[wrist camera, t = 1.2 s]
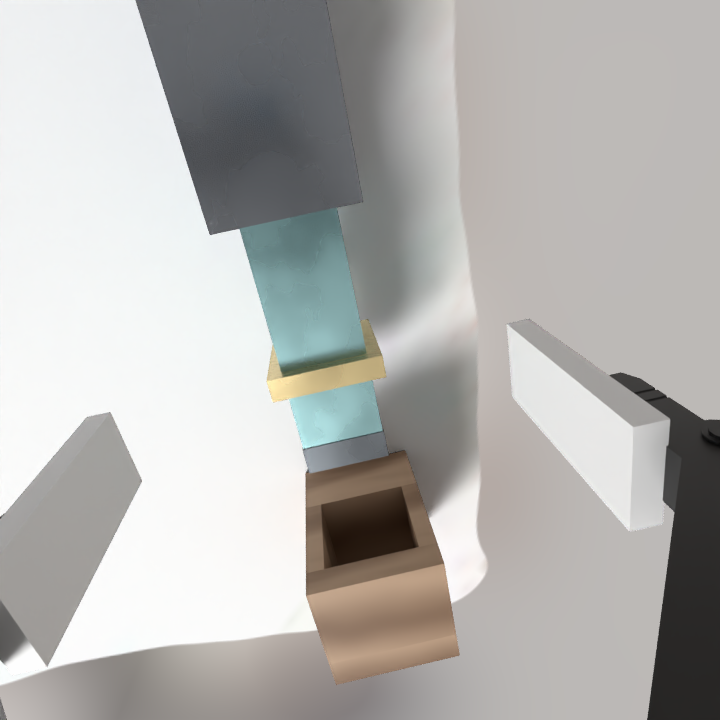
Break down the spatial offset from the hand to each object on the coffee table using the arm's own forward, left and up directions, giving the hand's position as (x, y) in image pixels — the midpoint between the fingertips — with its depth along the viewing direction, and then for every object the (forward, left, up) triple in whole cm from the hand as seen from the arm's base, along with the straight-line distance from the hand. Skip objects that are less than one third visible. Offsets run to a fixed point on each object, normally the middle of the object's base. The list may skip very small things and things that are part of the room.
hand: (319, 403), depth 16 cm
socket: (+19, 0, -17) cm, 26 cm away
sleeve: (-13, 0, -17) cm, 22 cm away
